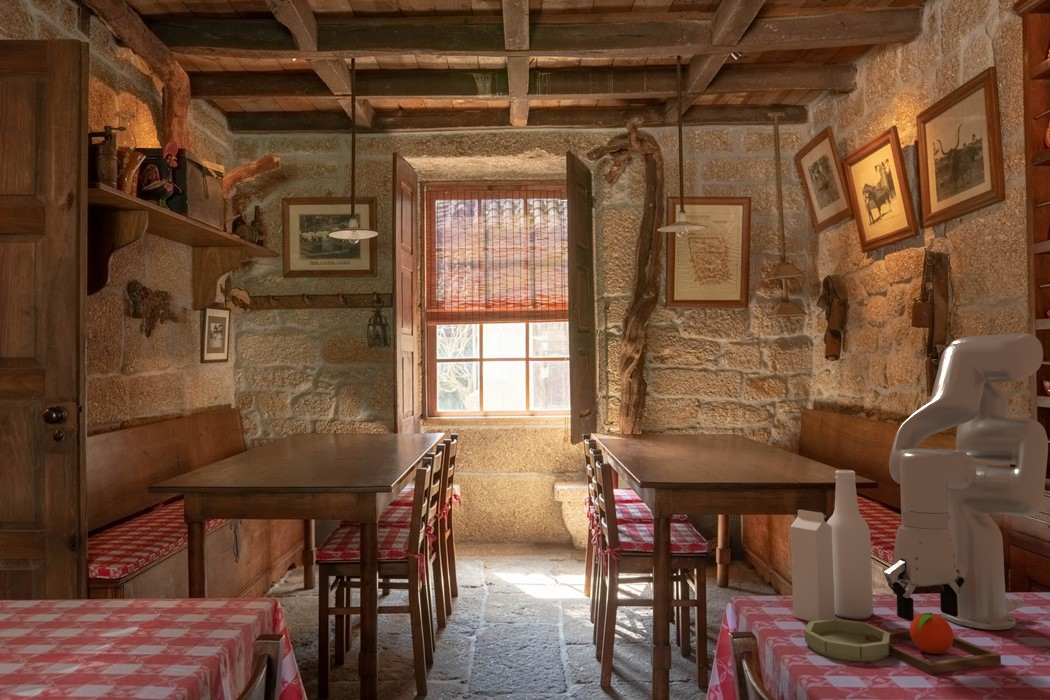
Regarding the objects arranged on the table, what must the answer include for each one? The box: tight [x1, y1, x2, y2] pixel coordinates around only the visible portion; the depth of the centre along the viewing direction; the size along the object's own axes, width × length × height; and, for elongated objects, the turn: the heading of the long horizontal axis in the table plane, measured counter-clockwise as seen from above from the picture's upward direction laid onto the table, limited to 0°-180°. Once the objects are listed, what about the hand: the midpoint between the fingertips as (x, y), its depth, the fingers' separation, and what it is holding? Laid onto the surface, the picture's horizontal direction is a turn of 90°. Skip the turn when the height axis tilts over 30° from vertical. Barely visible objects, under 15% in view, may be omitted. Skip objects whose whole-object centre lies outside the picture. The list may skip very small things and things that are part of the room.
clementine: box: [909, 612, 954, 655], centre depth 130 cm, size 8×7×7 cm
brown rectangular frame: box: [866, 629, 1002, 675], centre depth 130 cm, size 15×15×2 cm
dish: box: [804, 618, 891, 663], centre depth 133 cm, size 14×14×3 cm
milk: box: [789, 509, 836, 622], centre depth 150 cm, size 6×6×22 cm
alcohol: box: [826, 469, 874, 620], centre depth 153 cm, size 9×9×30 cm
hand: (927, 616), depth 129 cm, fingers open, 9 cm apart
